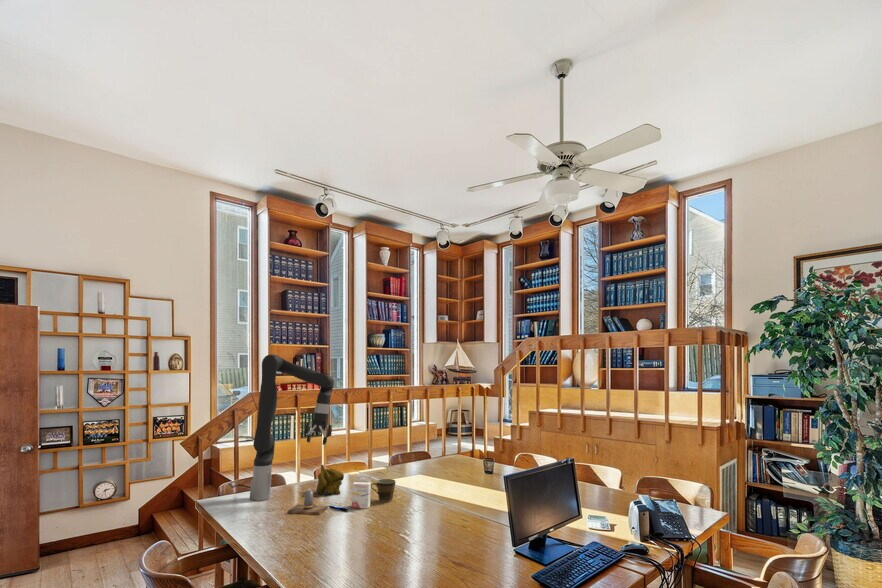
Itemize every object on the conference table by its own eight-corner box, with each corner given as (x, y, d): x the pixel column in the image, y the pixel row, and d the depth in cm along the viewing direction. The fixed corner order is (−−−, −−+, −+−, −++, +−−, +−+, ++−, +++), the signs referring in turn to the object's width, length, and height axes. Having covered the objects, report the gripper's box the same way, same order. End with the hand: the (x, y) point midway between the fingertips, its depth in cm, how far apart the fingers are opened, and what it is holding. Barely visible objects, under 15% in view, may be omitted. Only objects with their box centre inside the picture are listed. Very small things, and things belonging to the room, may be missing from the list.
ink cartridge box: (351, 508, 237) (352, 477, 239) (353, 505, 241) (355, 474, 244) (368, 508, 236) (369, 477, 238) (370, 505, 241) (371, 475, 243)
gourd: (318, 490, 269) (319, 464, 271) (343, 489, 271) (344, 463, 273) (315, 497, 256) (316, 470, 258) (342, 496, 258) (343, 469, 259)
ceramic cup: (392, 497, 256) (393, 478, 257) (397, 502, 246) (397, 482, 248) (368, 499, 252) (369, 479, 253) (372, 504, 242) (372, 484, 244)
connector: (302, 508, 230) (303, 490, 231) (306, 506, 234) (306, 488, 235) (310, 509, 229) (311, 490, 230) (313, 506, 233) (314, 488, 234)
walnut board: (287, 513, 228) (288, 510, 228) (297, 506, 237) (297, 504, 237) (319, 514, 225) (319, 511, 225) (327, 508, 235) (327, 505, 235)
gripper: (306, 410, 255) (300, 442, 251) (331, 413, 252) (326, 445, 249) (311, 410, 262) (306, 441, 258) (336, 413, 260) (331, 444, 256)
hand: (316, 443), depth 253 cm, fingers open, 8 cm apart
